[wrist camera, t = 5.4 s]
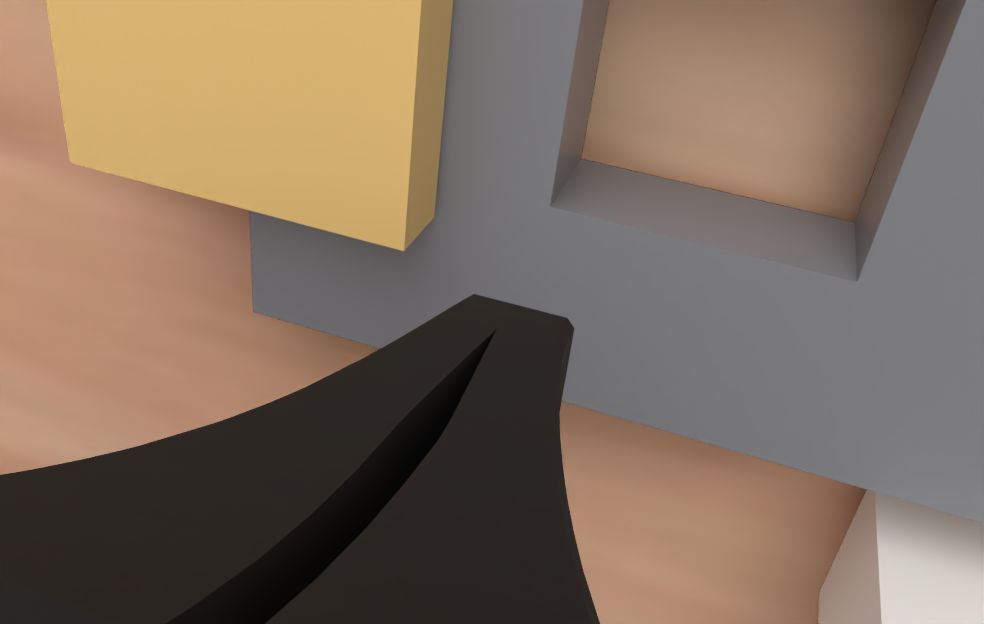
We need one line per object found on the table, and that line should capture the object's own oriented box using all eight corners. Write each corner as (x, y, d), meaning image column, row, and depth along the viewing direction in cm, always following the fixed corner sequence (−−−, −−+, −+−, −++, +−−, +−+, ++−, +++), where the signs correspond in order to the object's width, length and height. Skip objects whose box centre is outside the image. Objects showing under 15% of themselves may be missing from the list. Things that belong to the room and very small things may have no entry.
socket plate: (1099, 479, 19) (1131, 565, 17) (306, 262, 22) (253, 312, 20) (1521, -179, 12) (1660, -169, 10) (307, -334, 16) (229, -349, 14)
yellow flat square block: (434, 217, 18) (404, 251, 16) (119, 136, 19) (70, 162, 18) (470, -197, 14) (435, -193, 13) (73, -259, 15) (6, -261, 14)
